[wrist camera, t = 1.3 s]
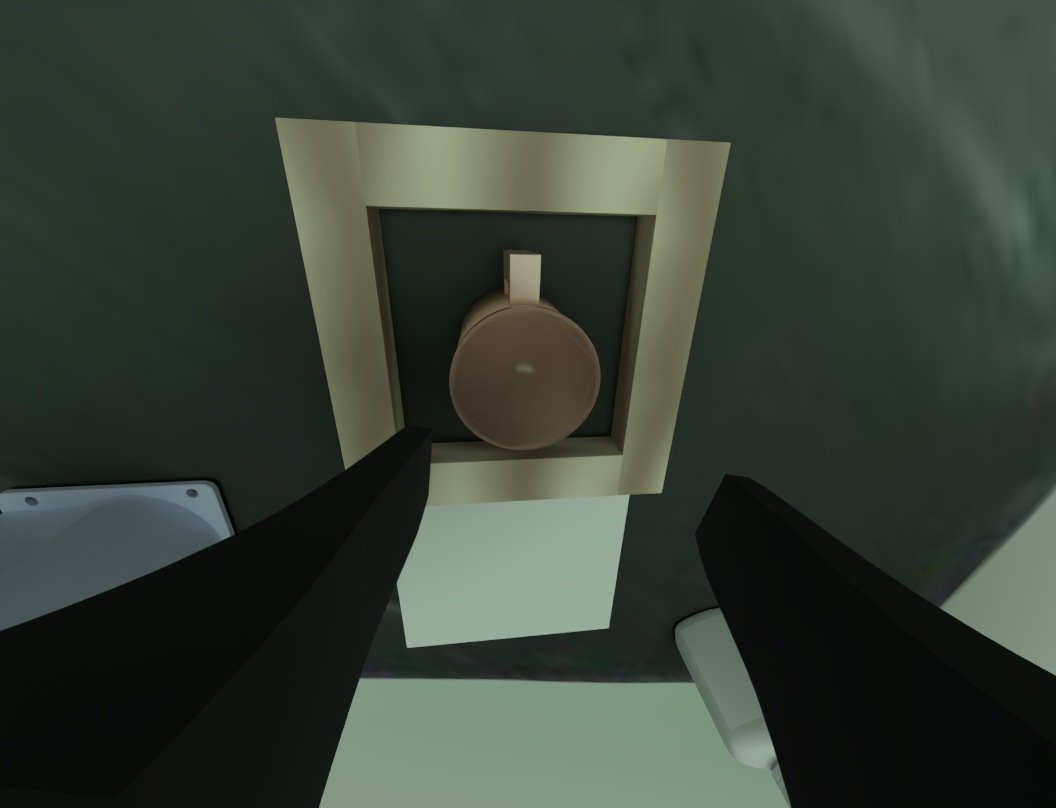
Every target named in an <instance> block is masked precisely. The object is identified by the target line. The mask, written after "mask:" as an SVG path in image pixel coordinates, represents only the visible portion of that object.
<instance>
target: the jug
mask: <svg viewBox="0 0 1056 808" xmlns="http://www.w3.org/2000/svg"><path fill="white" fill-rule="evenodd" d="M503 260H504V287H500V288H497V289H494V290H491V291H489V292H487V293H485V294H484V295H482V296H481V297H479V298H478V299H477V300H476V301H475V302H474V303H473V304H472V305H471V307H470V308H469V310H468V311H467V313H466V315H465V317H464V319H463V322H462V325H461V330H460V336H459V341H458V347H457V349H456V351H455V354H454V357H453V360H452V364H451V369H450V376H449V387H450V395H451V399H452V402H453V405H454V407H455V410H456V412H457V414H458V415H459V417H460V419H461V420H462V422H463V423H464V424H465V425H466V426H467V428H468V429H470V430H471V431H472V432H473V433H474V434H475V435H477V436H478V437H479V438H481V439H482V440H484V441H486V442H488V443H490V444H493V445H495V446H498V447H502V448H506V449H512V450H531V449H538V448H542V447H546V446H549V445H552V444H554V443H556V442H558V441H560V440H562V439H563V438H565V437H567V436H568V435H570V434H571V433H572V432H573V431H575V430H576V429H577V428H578V427H579V426H580V425H581V424H582V423H583V421H584V420H585V419H586V418H587V416H588V415H589V413H590V412H591V410H592V408H593V406H594V404H595V402H596V399H597V396H598V392H599V387H600V376H601V373H600V364H599V360H598V356H597V353H596V351H595V348H594V346H593V344H592V343H591V341H590V339H589V338H588V336H587V335H586V334H585V333H584V331H583V330H582V329H581V328H580V327H579V326H578V325H576V324H575V323H574V322H573V321H572V320H570V319H569V318H568V317H566V316H565V315H563V314H561V313H560V312H559V311H558V310H557V309H556V308H555V307H554V306H553V305H552V304H551V303H550V302H549V301H548V300H547V299H546V298H545V297H543V296H542V295H541V294H539V292H540V269H541V255H540V254H537V253H535V252H532V251H529V250H504V249H503Z"/></svg>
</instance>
